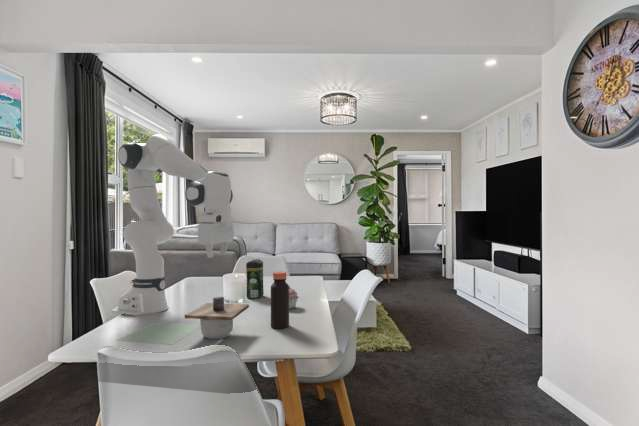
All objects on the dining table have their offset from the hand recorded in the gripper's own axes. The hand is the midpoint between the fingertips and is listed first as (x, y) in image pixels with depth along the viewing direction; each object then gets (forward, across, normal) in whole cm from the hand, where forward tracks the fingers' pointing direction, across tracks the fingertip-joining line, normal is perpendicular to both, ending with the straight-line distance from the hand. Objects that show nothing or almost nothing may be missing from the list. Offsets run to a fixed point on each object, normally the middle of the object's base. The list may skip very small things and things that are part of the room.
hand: (217, 255), depth 129 cm
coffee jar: (+27, -52, -6) cm, 59 cm away
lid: (+19, +4, +3) cm, 20 cm away
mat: (+27, +6, -17) cm, 33 cm away
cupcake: (+27, -35, +17) cm, 47 cm away
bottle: (+27, -9, +21) cm, 35 cm away
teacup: (+27, +4, +3) cm, 27 cm away
